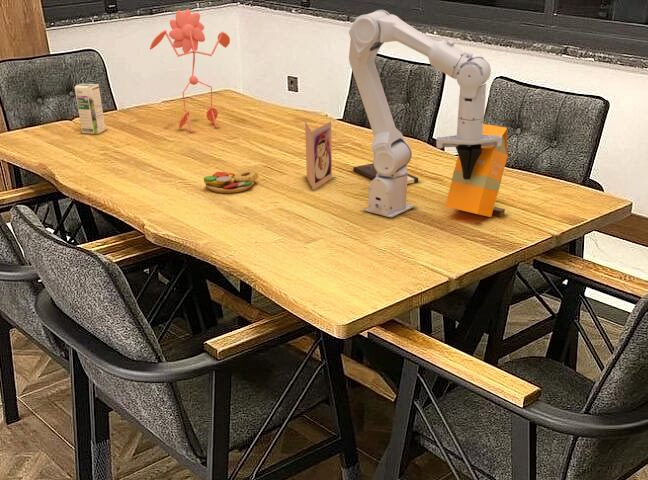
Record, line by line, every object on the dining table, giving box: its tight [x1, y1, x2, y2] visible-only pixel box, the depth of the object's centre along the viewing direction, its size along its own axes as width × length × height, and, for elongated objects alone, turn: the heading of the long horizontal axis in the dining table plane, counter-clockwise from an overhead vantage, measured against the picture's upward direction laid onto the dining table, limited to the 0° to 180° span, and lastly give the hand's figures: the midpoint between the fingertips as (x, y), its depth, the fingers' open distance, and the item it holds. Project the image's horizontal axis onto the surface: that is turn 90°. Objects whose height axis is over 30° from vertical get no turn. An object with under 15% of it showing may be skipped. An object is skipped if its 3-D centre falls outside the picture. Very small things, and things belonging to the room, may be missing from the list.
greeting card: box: [304, 120, 333, 191], centre depth 218 cm, size 11×7×15 cm, turn 155°
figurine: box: [149, 8, 234, 133], centre depth 266 cm, size 15×26×35 cm, turn 125°
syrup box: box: [74, 83, 107, 135], centre depth 267 cm, size 6×6×14 cm
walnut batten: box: [492, 206, 506, 218], centre depth 202 cm, size 2×12×2 cm, turn 50°
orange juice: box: [445, 123, 509, 218], centre depth 195 cm, size 8×9×20 cm
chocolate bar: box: [353, 162, 419, 185], centre depth 226 cm, size 9×1×18 cm
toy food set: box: [203, 169, 259, 194], centre depth 220 cm, size 13×13×3 cm
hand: (466, 178), depth 192 cm, fingers closed
